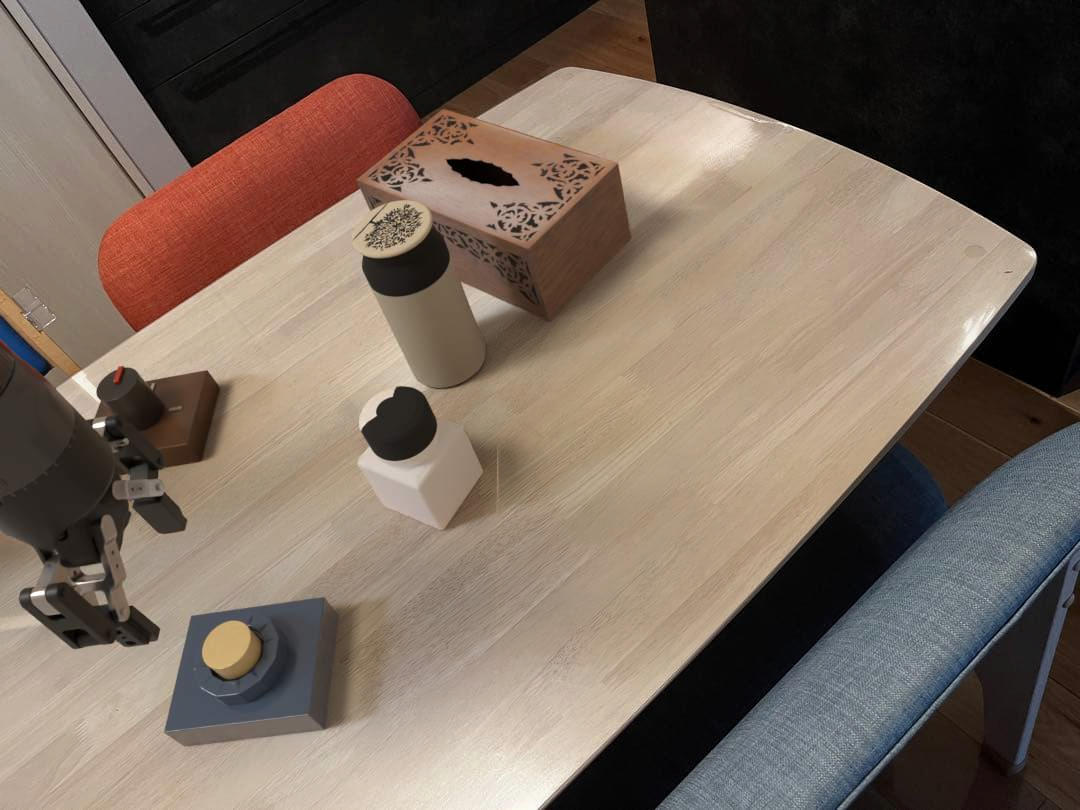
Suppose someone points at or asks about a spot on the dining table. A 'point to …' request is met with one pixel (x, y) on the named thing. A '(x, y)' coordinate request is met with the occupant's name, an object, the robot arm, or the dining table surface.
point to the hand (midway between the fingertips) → (161, 581)
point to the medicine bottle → (416, 457)
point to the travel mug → (420, 292)
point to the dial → (130, 397)
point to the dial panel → (180, 416)
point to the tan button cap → (232, 649)
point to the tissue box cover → (508, 207)
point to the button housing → (257, 676)
